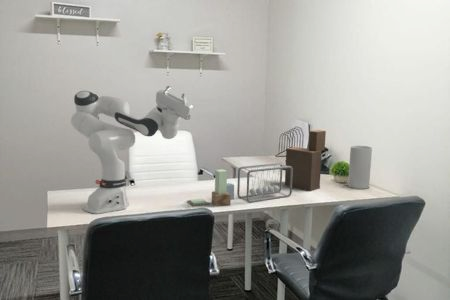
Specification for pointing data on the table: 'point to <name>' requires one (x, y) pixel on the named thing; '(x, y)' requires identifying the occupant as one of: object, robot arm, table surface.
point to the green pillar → (221, 181)
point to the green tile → (197, 202)
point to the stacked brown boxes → (306, 163)
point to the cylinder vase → (359, 167)
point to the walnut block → (221, 199)
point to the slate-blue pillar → (230, 190)
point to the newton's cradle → (264, 189)
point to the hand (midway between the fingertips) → (176, 90)
